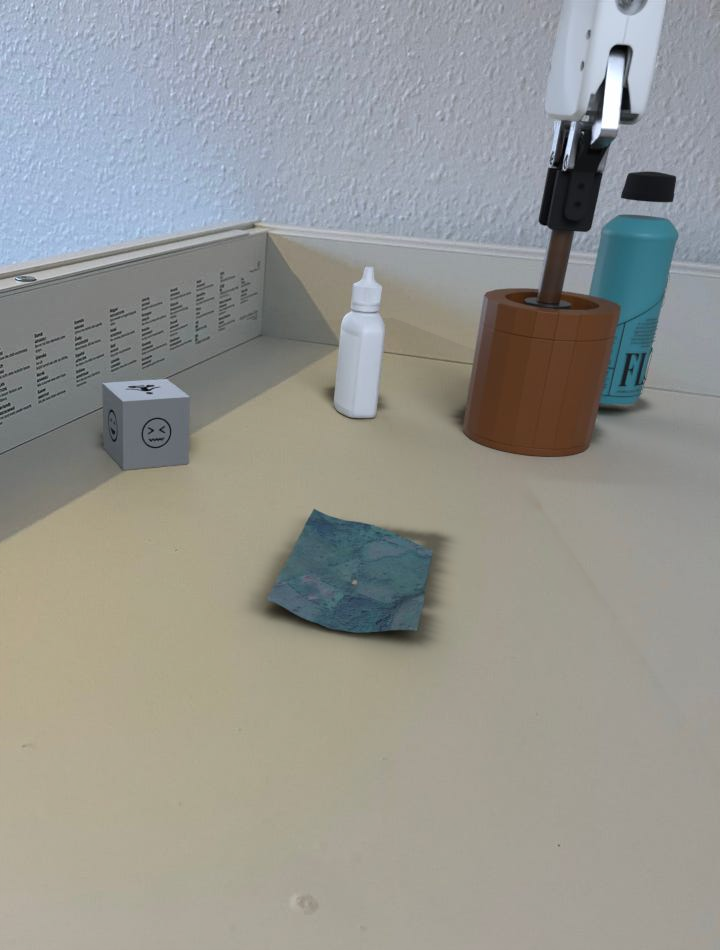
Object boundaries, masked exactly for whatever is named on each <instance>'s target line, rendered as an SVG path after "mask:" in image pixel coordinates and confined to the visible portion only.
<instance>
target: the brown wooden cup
mask: <svg viewBox="0 0 720 950" xmlns="http://www.w3.org/2000/svg"><path fill="white" fill-rule="evenodd" d="M538 289H539V288H529V287H527V288H526V287H524V288H522V287H519V288H517V287H516V288H515V287H513V288H511V287H510V288H500V289H499V288H498V289H493V290H490V291H486V292H485V293H484V295H483V300H482V306H481V312H480V318H479V325H478V329H477V336H476V342H475V349H474V356H473V361H472V367H471V372H470V373H471V374H470V380H469V385H468V392H467V397H466V404H465V411H464V417H463V427H462V431H463V433H464V435H465V436H466V437H467V438H469V440H472V441H473V442H476V443H477V444H480V445H482V446H485V447H488V448H491V449H494V450H498V451H502V452H506V453H512V454H517V455H523V456H524V455H525V456H533V457H566V456H572V455H577V454H580V453H583V452H586V451H587V450H588V449H589V447H590V445H591V441H592V438H593V434H594V431H595V429H594V428H595V425H596V421H597V416H598V413H599V407H600V404H601V403H600V399H601V395H602V390H603V386H604V382H605V377H606V373H607V369H608V364H609V360H610V355H611V351H612V347H613V342H614V338H615V333H616V329H617V325H618V320H619V316H620V312H621V306H620V305H618V304H616V303H615V302H612V301H609V300H606V299H603V298H599V297H594V296H590V295H589V294H584V293H579V292H572V291H564V290H562V294H561V299H560V300H563V301H566V302H569V303H571V309H570V310H564V309H551V308H541V307H535V306H529V305H525V304H524V300H525V299H526V298H533V297H537V294H538Z"/></svg>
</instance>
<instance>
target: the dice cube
mask: <svg viewBox="0 0 720 950" xmlns="http://www.w3.org/2000/svg"><path fill="white" fill-rule="evenodd" d="M101 387H102V388H101V389H102V435H103V436H102V437H103V439H102V440H103V441H102V442H103V450H104V451H105V452H106V453H107V454H108V455H109V457H110V458H111V459H112V460H113V461H114V462H116V464H117V465H118V466H119V467H120V468H121V469H122V471H130V470H140V469H150V468H159V467H171V466H181V465H189V463H190V462H189V459H190V458H189V457H190V456H189V454H190V421H191V420H190V418H191V417H190V413H191V396H189V395H188V394H187V393H186V392H184V391H183V390H182V389H180V388H179V387H178V386H177V385H176V384H174V383H173V382H172V381H170V380H169V379H167V378H160V379H159V378H158V379H141V380H127V381H125V380H124V381H112V382H101Z"/></svg>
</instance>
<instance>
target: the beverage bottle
mask: <svg viewBox="0 0 720 950" xmlns="http://www.w3.org/2000/svg"><path fill="white" fill-rule="evenodd" d="M624 182H625V183H624V186H623V188H622V191H621V196H620V198H621V199H624V200H627V201H628V200H629V201H637V202H649V203H673V202H674V198H675V191H676V190H675V189H676V184H677V176H676V175H673V174H669V173H664V172H659V171H649V170H648V171H647V170H646V171H636V172H633V171H632V172H629V173H627V175H626V179H625V181H624ZM678 239H679V231H678V230H677V228H676V227H675V225H674V224H673V222H672V221H671V220H670V219H669V218H666V217H660V216H652V215H643V214H642V215H641V214H617V215H616V216H615V217H613V218H612V219H610V220H609V221H608V222H607V223H605V224H604V225H603V226H602V227H601V230H600V239H599V243H598V248H597V253H596V258H595V263H594V268H593V272H592V276H591V277H592V278H591V283H590V287H589V291H588V295H590V296H594V297H599V298H603V299H606V300H609V301H612V302H615V303H616V304H618V305H620V306H621V312H620V316H619V320H618V325H617V329H616V333H615V338H614V342H613V347H612V351H611V355H610V360H609V364H608V369H607V373H606V377H605V382H604V386H603V390H602V395H601V399H600V404H603V405H616V406H624V405H625V406H626V405H632V404H635V403H637V402H638V400H639V398H640V396H641V395H642V394H643V392H642V391H644V386H645V382H646V381H647V377H648V373H649V368H650V364H651V360H652V356H653V354H652V353H653V351H654V348H653V344H654V342H655V341H656V339H655V338H656V335H657V332H656V331H657V330H658V327H659V325H658V324H659V322H660V321H659V320H660V314H661V310H662V308H663V306H664V301H665V298H666V296H665V295H666V293H667V288H668V283H669V282H670V278H671V276H670V270H671V265H672V262H673V258H674V253H675V248H676V244H677V241H678Z"/></svg>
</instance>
